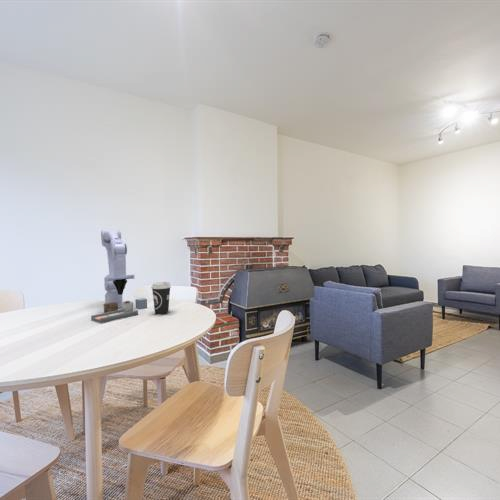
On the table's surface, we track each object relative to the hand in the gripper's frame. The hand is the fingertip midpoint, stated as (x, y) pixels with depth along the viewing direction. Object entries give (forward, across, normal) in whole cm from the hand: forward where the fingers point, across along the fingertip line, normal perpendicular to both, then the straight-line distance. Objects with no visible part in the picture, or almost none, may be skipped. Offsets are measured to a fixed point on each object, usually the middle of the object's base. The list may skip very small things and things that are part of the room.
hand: (120, 294), depth 144 cm
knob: (+8, 0, -7) cm, 10 cm away
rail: (+9, -6, -7) cm, 13 cm away
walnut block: (+10, -3, +3) cm, 11 cm away
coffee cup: (+10, +12, -17) cm, 23 cm away
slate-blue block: (+10, +12, +1) cm, 15 cm away
